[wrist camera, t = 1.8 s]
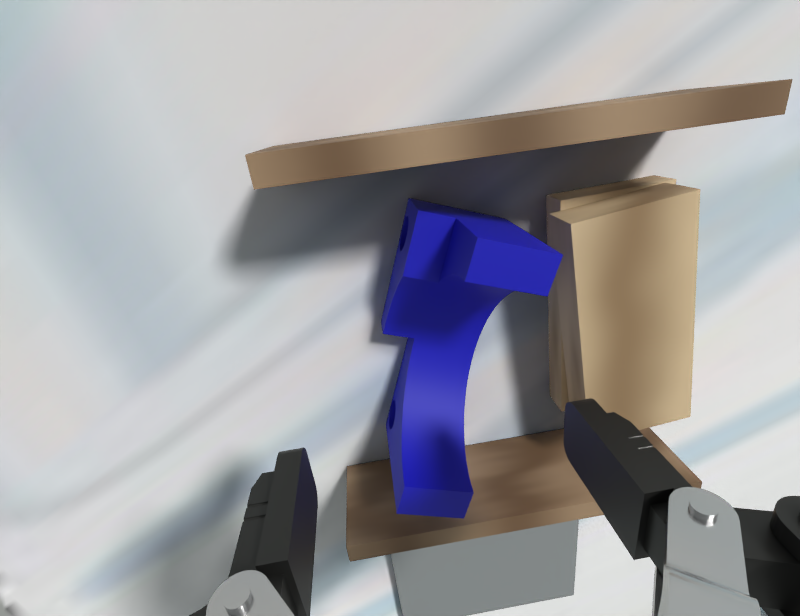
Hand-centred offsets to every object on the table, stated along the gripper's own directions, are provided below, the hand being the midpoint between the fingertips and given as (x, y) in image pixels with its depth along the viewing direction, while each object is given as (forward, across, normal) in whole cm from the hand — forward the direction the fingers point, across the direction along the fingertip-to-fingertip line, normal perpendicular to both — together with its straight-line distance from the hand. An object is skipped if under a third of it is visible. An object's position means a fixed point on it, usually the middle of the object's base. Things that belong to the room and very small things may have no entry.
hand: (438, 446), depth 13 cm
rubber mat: (+8, -3, +17) cm, 19 cm away
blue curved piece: (+9, -1, 0) cm, 9 cm away
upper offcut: (+7, -10, 0) cm, 12 cm away
